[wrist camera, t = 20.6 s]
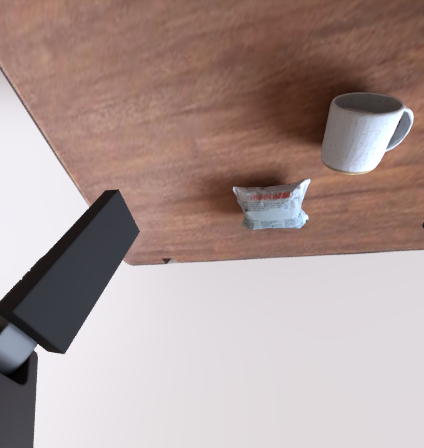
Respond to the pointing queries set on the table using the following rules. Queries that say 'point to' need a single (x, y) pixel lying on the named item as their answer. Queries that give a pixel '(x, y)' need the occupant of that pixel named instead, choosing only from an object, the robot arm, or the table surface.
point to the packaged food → (273, 205)
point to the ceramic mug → (363, 131)
